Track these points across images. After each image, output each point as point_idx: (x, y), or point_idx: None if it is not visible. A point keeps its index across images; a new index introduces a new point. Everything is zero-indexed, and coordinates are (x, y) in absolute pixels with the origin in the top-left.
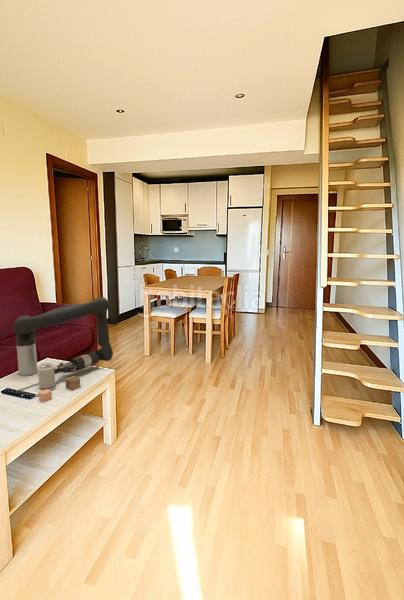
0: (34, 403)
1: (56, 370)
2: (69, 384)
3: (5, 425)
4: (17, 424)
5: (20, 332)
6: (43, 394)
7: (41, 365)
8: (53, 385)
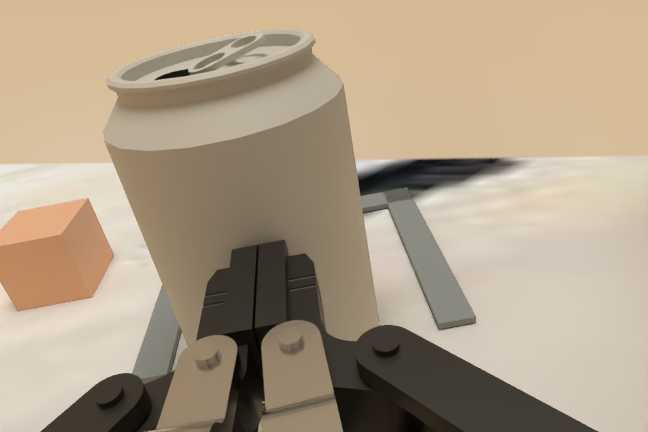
0: None
1: (225, 289)
2: None
3: (72, 163)
4: (24, 183)
5: None
6: (16, 213)
7: (280, 49)
8: None
